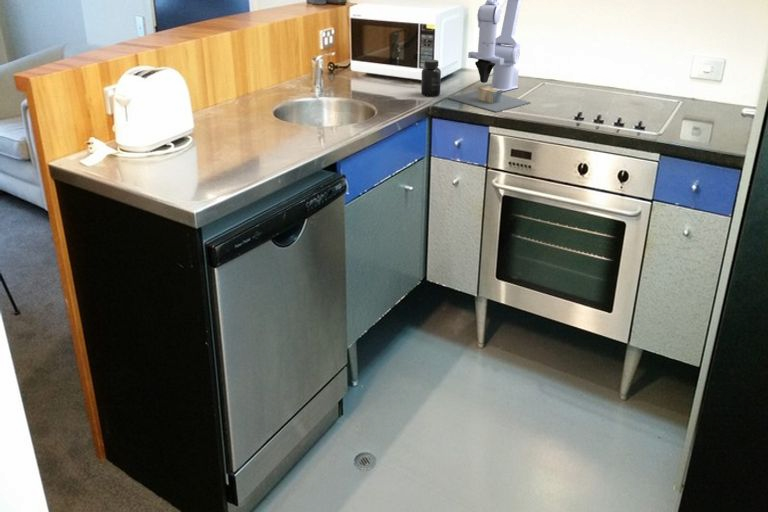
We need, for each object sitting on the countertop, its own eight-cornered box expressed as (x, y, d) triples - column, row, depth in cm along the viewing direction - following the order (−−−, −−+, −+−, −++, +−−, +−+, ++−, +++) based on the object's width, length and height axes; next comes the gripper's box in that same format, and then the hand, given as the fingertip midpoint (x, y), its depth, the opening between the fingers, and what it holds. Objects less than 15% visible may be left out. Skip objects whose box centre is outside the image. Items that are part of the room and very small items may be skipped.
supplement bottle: (440, 92, 258) (441, 59, 252) (439, 97, 252) (441, 63, 246) (421, 91, 258) (422, 58, 253) (420, 96, 252) (421, 62, 247)
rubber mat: (482, 90, 261) (482, 89, 261) (530, 103, 246) (530, 102, 246) (448, 98, 250) (448, 97, 250) (496, 112, 236) (496, 111, 235)
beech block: (486, 86, 249) (501, 90, 244) (485, 97, 251) (500, 101, 246) (478, 87, 247) (494, 91, 242) (478, 99, 249) (493, 103, 244)
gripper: (463, 40, 244) (460, 79, 250) (495, 46, 234) (492, 88, 240) (477, 37, 248) (474, 76, 254) (509, 44, 238) (505, 84, 244)
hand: (483, 82), depth 247 cm, fingers closed
